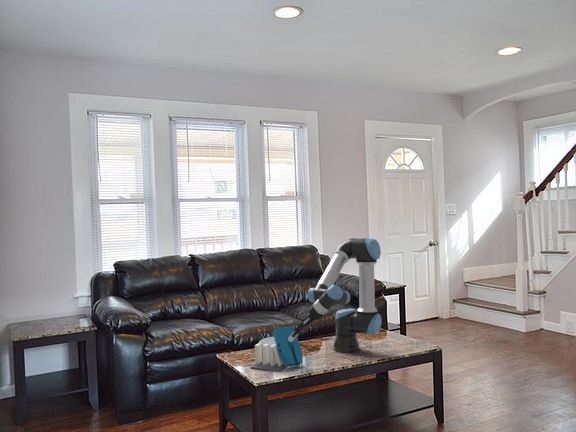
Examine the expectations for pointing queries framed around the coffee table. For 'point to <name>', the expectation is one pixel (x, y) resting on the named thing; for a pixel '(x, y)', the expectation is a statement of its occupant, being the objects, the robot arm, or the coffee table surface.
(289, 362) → the block
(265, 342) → the serving bowl
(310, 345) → the coffee table surface
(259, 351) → the domino
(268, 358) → the domino
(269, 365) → the domino mat
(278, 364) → the domino
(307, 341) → the coffee table surface
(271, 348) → the domino
